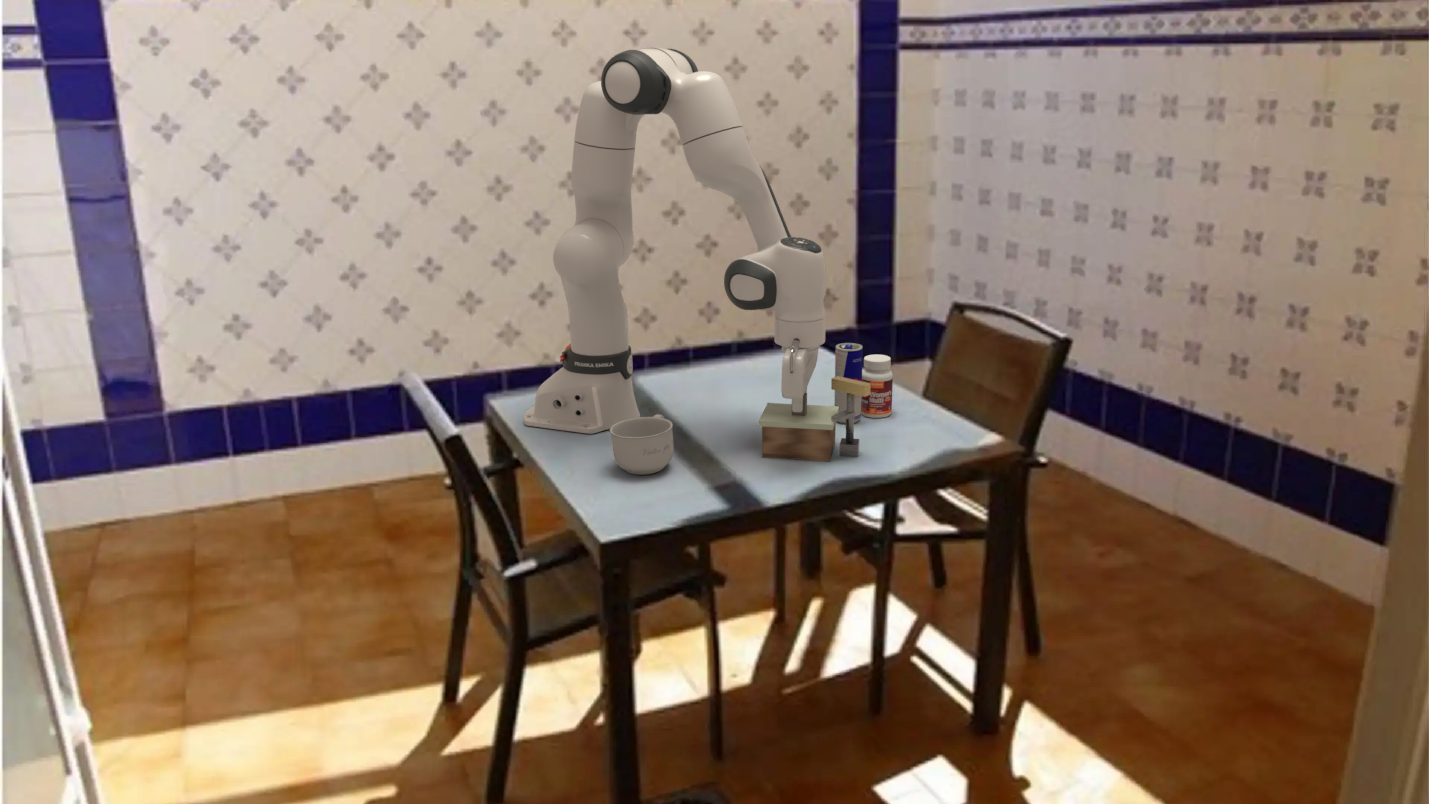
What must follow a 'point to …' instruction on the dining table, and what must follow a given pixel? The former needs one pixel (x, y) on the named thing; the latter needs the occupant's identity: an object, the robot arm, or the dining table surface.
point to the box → (798, 443)
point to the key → (849, 401)
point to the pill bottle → (877, 386)
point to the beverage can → (848, 374)
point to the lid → (798, 416)
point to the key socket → (849, 448)
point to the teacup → (643, 444)
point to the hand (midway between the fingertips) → (799, 407)
